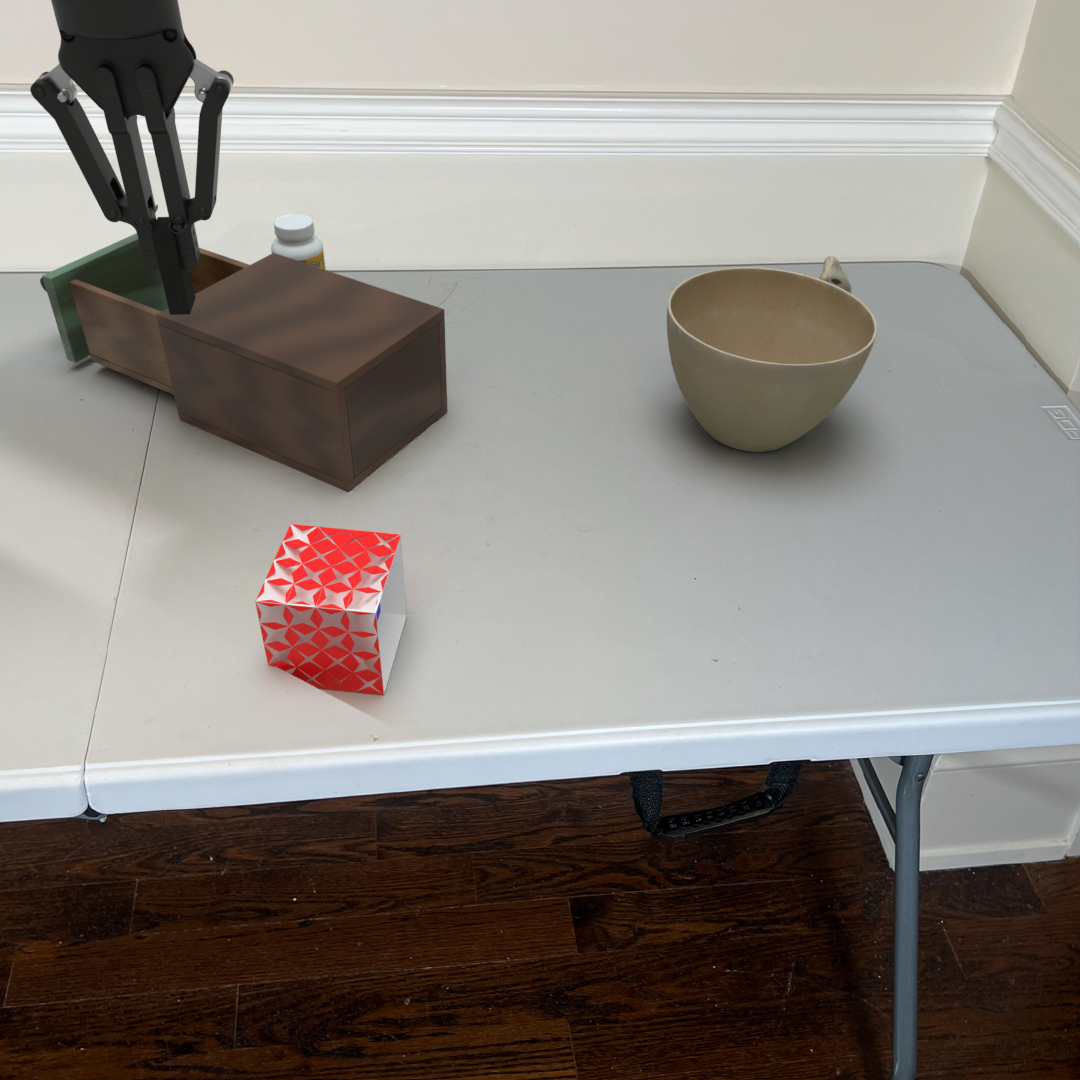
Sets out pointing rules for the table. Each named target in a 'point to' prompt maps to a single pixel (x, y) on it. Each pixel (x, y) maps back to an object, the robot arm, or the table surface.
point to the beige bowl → (765, 352)
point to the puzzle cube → (334, 607)
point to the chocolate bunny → (835, 274)
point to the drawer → (121, 307)
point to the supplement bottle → (298, 240)
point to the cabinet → (308, 367)
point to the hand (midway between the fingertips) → (182, 305)
